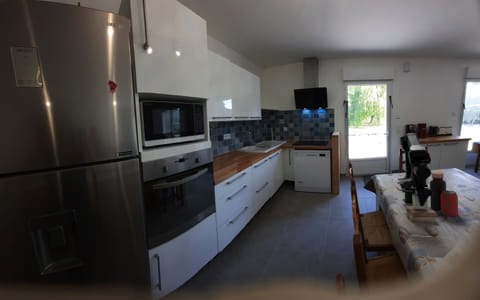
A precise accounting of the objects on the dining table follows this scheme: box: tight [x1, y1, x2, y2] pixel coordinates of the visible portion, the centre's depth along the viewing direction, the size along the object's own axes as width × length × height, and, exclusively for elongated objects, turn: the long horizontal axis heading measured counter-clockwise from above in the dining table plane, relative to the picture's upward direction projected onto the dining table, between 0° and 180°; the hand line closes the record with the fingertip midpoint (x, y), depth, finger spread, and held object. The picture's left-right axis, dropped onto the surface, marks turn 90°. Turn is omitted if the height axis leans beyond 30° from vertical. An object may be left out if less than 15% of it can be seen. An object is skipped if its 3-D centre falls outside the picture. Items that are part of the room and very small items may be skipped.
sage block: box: [412, 194, 429, 209], centre depth 120 cm, size 5×5×6 cm
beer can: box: [440, 189, 459, 217], centre depth 121 cm, size 7×7×12 cm
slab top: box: [405, 205, 438, 218], centre depth 120 cm, size 10×10×2 cm
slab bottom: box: [406, 211, 437, 222], centre depth 120 cm, size 10×10×2 cm
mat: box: [404, 212, 440, 225], centre depth 121 cm, size 14×11×1 cm
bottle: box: [429, 171, 447, 212], centre depth 129 cm, size 7×7×20 cm
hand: (420, 204), depth 120 cm, fingers closed on sage block, 5 cm apart
